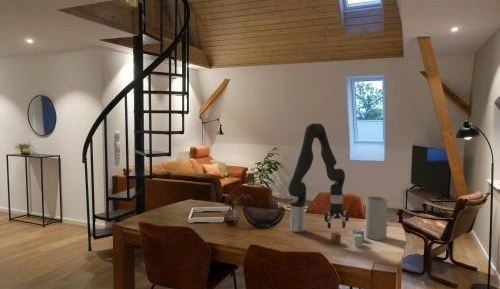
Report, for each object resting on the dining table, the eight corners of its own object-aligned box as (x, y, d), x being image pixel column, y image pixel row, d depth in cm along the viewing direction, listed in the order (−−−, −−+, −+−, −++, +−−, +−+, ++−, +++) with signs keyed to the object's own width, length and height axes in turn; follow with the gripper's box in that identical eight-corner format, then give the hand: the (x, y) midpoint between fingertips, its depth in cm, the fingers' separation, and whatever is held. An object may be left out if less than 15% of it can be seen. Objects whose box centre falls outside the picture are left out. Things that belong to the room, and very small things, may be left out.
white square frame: (188, 222, 260) (188, 218, 260) (192, 211, 292) (192, 207, 292) (232, 221, 262) (232, 217, 262) (231, 210, 294) (231, 206, 294)
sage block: (355, 246, 210) (355, 236, 210) (352, 244, 215) (352, 234, 214) (362, 246, 211) (362, 236, 210) (359, 243, 215) (359, 234, 215)
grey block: (357, 241, 219) (357, 232, 219) (353, 239, 223) (353, 229, 223) (363, 240, 220) (363, 231, 220) (359, 238, 225) (359, 229, 224)
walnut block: (333, 244, 213) (333, 235, 213) (331, 242, 218) (331, 232, 217) (340, 244, 214) (340, 234, 213) (338, 242, 218) (338, 232, 218)
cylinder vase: (361, 236, 228) (362, 198, 226) (372, 232, 236) (373, 195, 234) (379, 241, 218) (379, 201, 216) (390, 237, 226) (391, 198, 224)
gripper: (326, 203, 210) (326, 230, 211) (350, 202, 211) (350, 229, 212) (323, 200, 217) (323, 226, 218) (345, 200, 218) (345, 226, 219)
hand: (336, 228), depth 215 cm, fingers open, 8 cm apart
